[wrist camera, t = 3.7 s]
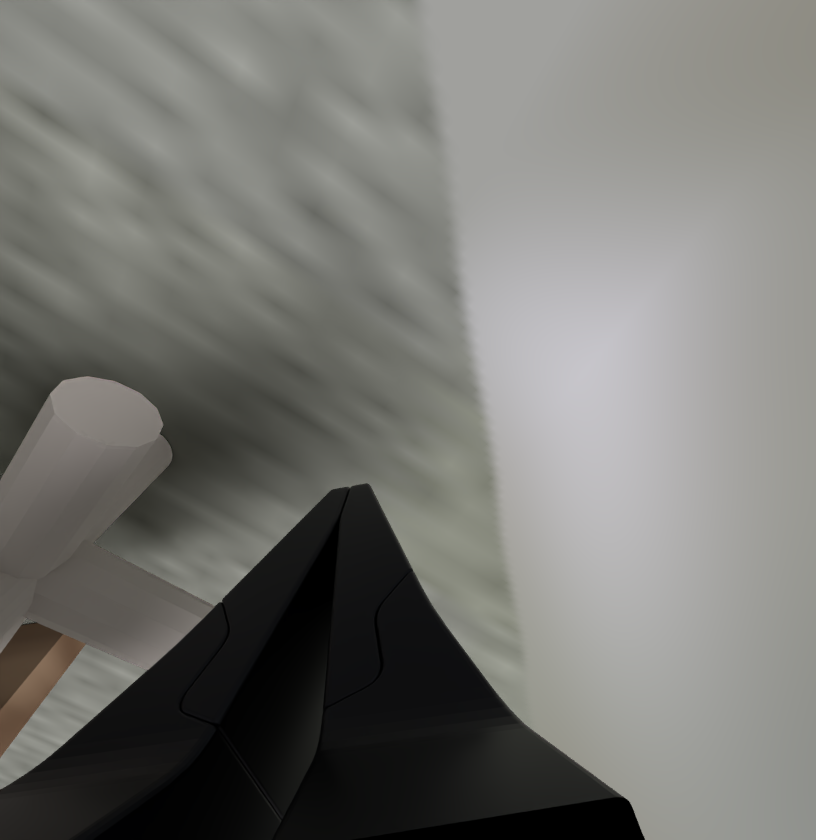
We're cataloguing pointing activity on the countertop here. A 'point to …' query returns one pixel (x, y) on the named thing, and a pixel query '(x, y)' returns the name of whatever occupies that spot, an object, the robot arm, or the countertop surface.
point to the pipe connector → (87, 525)
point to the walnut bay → (30, 674)
